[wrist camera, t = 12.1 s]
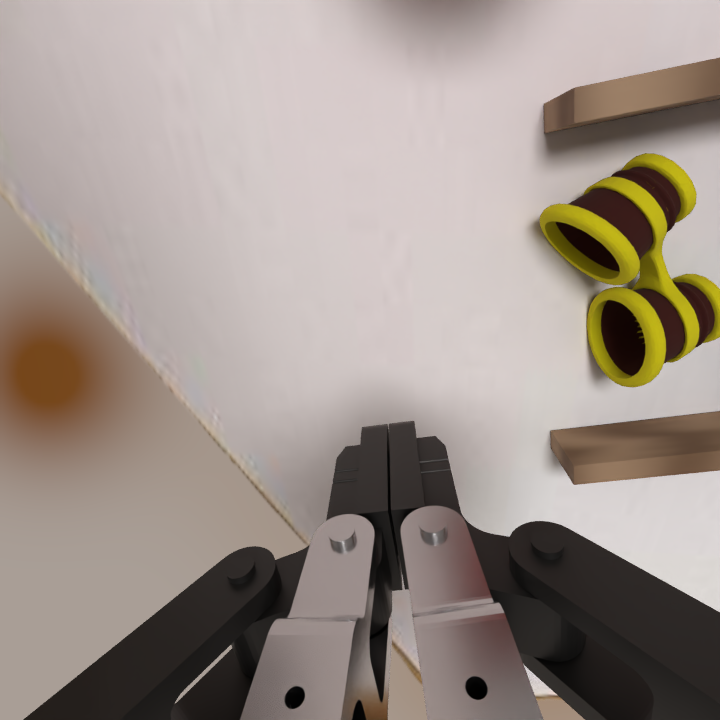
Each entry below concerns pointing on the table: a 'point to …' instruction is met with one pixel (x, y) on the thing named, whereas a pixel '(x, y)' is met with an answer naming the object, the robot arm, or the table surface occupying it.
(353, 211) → the table surface
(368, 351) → the table surface
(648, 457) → the walnut bay
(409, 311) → the table surface
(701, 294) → the opera glasses
